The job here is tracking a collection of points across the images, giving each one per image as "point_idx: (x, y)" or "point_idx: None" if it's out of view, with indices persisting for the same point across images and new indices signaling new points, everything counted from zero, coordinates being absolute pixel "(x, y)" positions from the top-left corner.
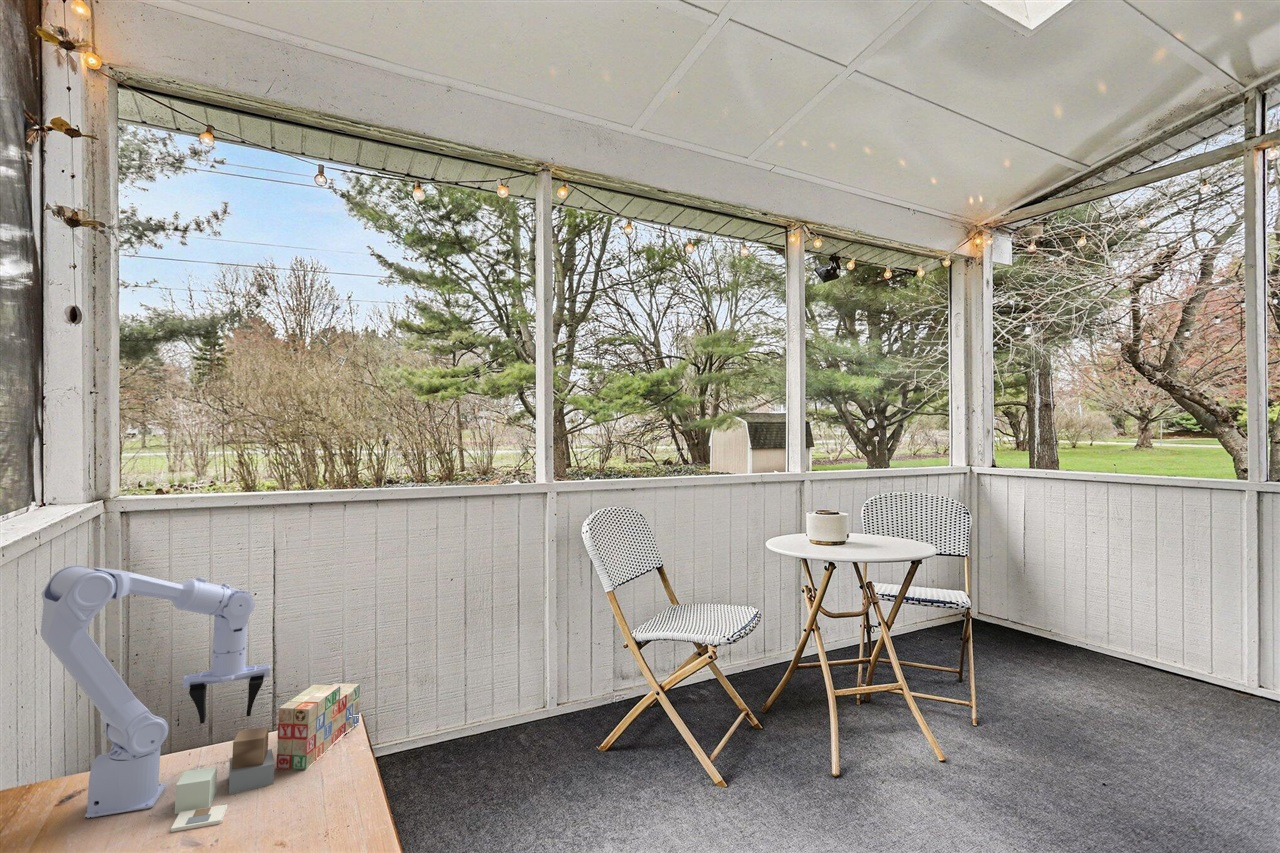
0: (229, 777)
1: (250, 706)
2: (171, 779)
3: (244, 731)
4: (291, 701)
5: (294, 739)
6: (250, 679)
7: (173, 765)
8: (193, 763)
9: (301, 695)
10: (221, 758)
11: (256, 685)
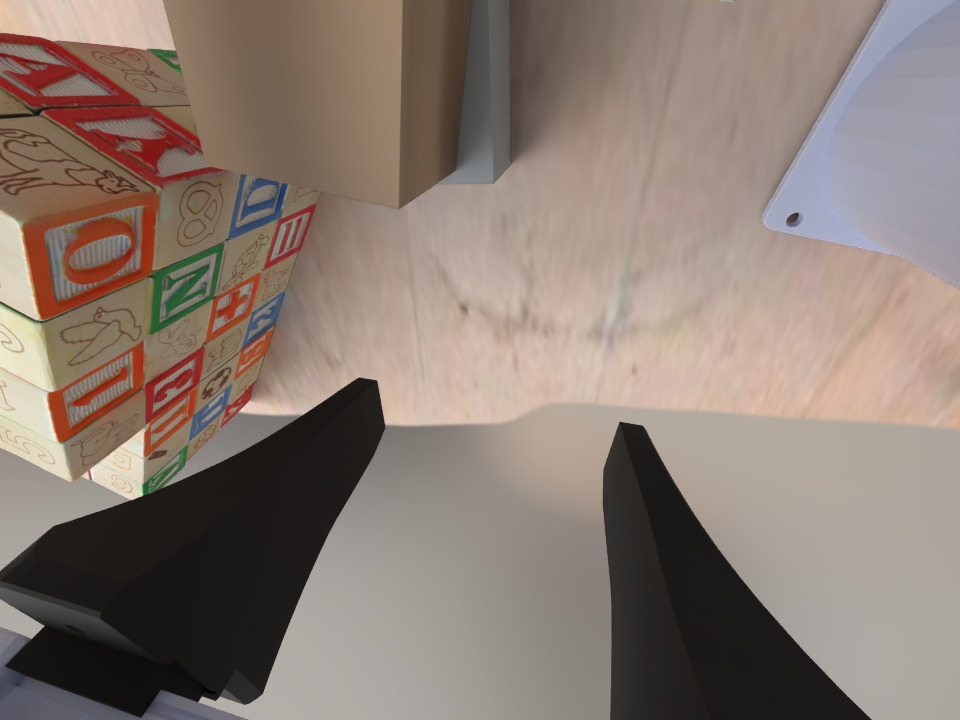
0: (502, 54)
1: (317, 413)
2: (719, 279)
3: (356, 166)
4: (14, 312)
5: (138, 99)
6: (185, 673)
7: (683, 389)
8: (621, 367)
9: (21, 380)
10: (533, 353)
11: (69, 549)
